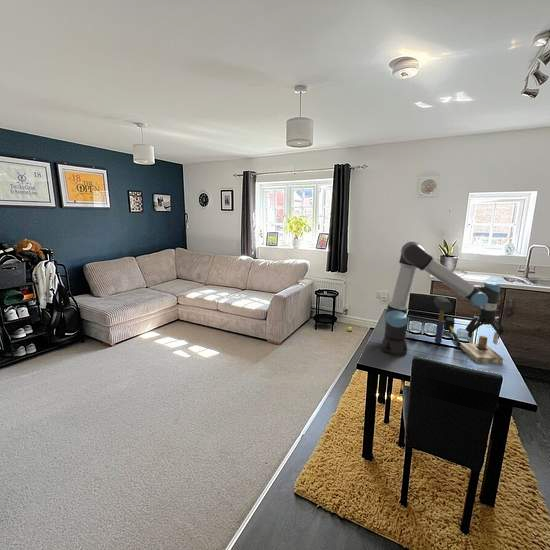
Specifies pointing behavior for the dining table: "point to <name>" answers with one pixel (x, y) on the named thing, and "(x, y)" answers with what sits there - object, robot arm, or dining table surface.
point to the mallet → (451, 328)
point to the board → (481, 353)
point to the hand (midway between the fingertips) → (482, 343)
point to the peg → (482, 343)
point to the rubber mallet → (441, 315)
